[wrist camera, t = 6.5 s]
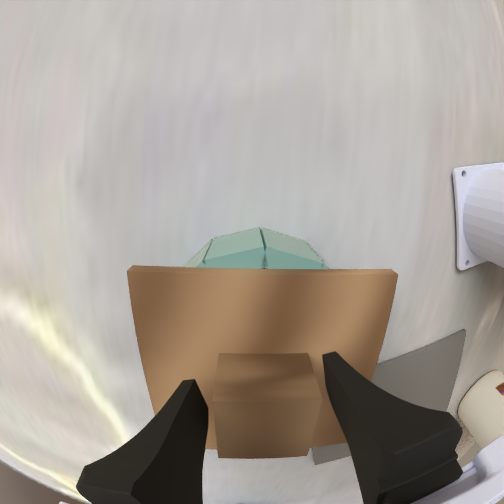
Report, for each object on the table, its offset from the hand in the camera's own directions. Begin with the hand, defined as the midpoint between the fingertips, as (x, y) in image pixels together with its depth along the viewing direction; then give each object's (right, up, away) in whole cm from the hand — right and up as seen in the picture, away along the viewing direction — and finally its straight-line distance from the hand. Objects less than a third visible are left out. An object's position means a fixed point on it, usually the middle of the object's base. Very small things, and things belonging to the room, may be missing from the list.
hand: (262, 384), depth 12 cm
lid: (0, -1, +3) cm, 3 cm away
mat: (+13, -9, +10) cm, 19 cm away
